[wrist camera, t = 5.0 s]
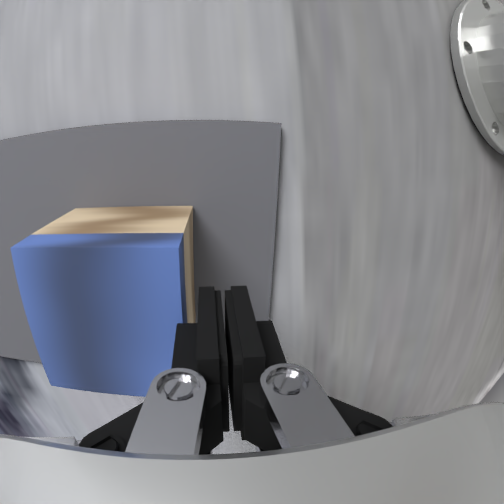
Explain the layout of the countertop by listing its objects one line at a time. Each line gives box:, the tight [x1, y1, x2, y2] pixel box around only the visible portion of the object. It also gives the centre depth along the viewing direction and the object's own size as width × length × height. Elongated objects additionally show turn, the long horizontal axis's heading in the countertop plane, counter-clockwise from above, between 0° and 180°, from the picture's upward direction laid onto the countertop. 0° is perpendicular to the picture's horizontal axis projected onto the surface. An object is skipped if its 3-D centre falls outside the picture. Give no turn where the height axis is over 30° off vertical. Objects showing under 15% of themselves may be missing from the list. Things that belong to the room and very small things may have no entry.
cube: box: [10, 206, 196, 397], centre depth 12 cm, size 6×6×6 cm
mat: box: [0, 120, 281, 363], centre depth 15 cm, size 26×14×1 cm, turn 88°
